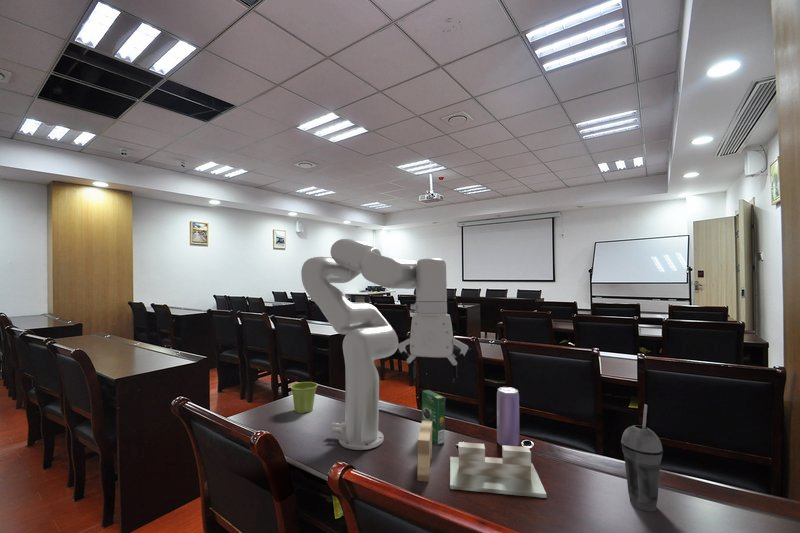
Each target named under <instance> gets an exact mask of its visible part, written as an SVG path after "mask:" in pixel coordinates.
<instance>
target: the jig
mask: <svg viewBox="0 0 800 533" xmlns="http://www.w3.org/2000/svg"><path fill="white" fill-rule="evenodd" d="M501 451H502V452H501V453H502V455H501V456H502V457H489V456H486V447H485V443H478V442H476V443H475V442H466V441H458V456H450V457H449V460H450V462H449V464H450V465H449V469H450V470H449V489H450V490H459V491H460V490H461V491H471V492H477V493H478V492H481V493H490V494H502V495H511V496H512V495H513V496H521V497H533V498H543V499H544V498H545V499H547V497H548V496H547V492H546V490H545V488H544V485H543V484H542V482H541V479H540V476H539V474H538V472H537V470H536V469H535V466H534V464H533V463H532V452H531V450H530V447H529V446H519V445H518V446H506V445H502V446H501Z"/></svg>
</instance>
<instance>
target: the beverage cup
mask: <svg viewBox="0 0 800 533" xmlns="http://www.w3.org/2000/svg"><path fill="white" fill-rule="evenodd" d="M647 413H648V404H645V403H644V406H643V416H642V425H639V424H634V425H631V426H628V427H627V428H626V429H625V430H624V431H623V433H622V435H621V440H620V444H621V449H622V453H623V458H624V465H625V474H626V476H625V477H626V483H627V491H628V492H627V493H628V497H629V502H630V504H631V505H632V506H633V507H635V508H637V509H639V510H642V511H645V512H655V511H657V505H658V497H659V486H660V484H659V483H660V471H661V462H662V459H663V454H664V449H663V445H662V441H661V439H660V438H659V436H658V435H657V434H656V433H655V431H653V430H652V429H651V428H648V427H646V426H647Z"/></svg>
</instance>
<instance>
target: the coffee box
mask: <svg viewBox="0 0 800 533" xmlns="http://www.w3.org/2000/svg"><path fill="white" fill-rule="evenodd" d="M422 420H425V421H432V444H434V445H436V446H441V445H445V426H446V397H445V396H443V395H441V394H438V393H437V392H434V391H432V390H430V389H426V390H422V391H421V424H422Z"/></svg>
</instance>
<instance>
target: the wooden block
mask: <svg viewBox="0 0 800 533" xmlns="http://www.w3.org/2000/svg"><path fill="white" fill-rule="evenodd" d="M421 422H422V424H421V425H420V428H419V433H418V438H417V479H416V480H417V481H418V482H427V483H429V482H430V476H431V464H432V460H433V443H432V421H425V420H422V419H421Z"/></svg>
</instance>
